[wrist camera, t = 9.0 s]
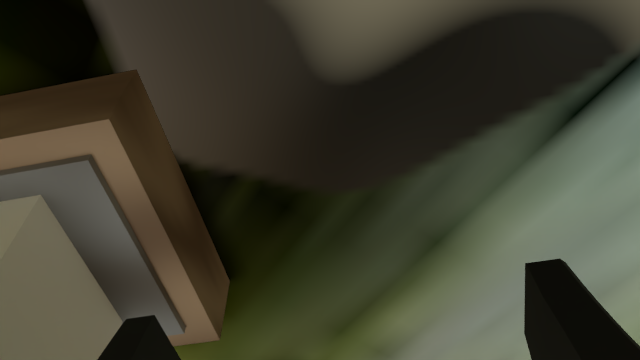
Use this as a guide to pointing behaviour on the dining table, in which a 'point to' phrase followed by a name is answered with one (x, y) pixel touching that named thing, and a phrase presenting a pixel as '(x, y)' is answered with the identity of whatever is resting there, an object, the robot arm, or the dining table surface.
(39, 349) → the block
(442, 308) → the dining table surface
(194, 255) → the stand
